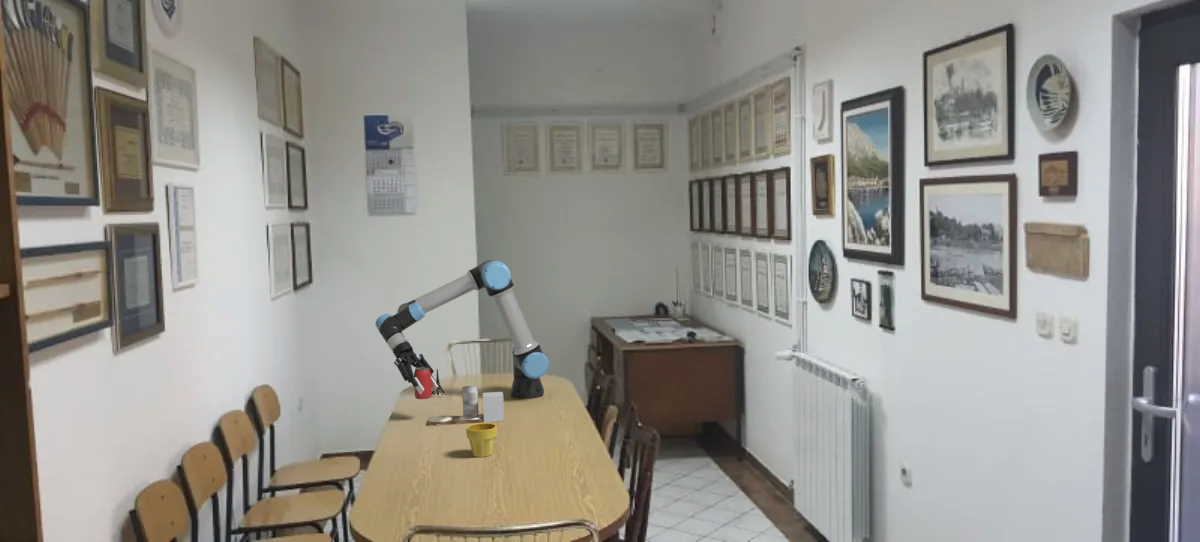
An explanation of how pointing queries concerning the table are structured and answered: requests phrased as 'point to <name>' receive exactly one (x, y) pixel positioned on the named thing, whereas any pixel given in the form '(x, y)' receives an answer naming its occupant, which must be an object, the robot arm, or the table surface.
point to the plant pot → (482, 438)
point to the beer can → (423, 382)
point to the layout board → (468, 409)
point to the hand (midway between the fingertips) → (429, 390)
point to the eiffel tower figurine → (438, 385)
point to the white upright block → (493, 406)
